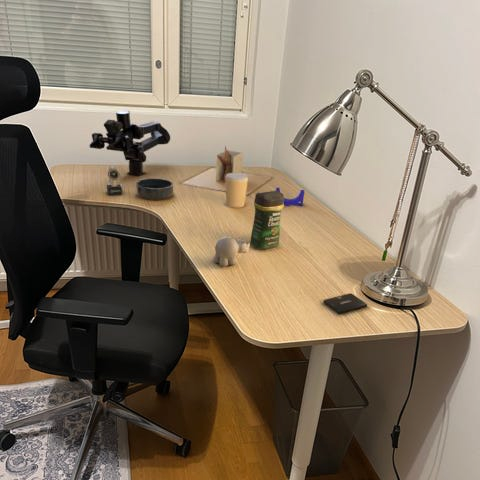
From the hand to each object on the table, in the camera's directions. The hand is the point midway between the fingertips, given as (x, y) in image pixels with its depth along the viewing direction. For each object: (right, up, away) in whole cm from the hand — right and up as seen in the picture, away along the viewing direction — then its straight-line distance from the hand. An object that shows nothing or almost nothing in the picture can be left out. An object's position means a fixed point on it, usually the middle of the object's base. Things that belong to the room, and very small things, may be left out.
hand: (98, 147), depth 195 cm
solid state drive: (+89, -69, -68) cm, 131 cm away
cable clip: (+81, -23, +4) cm, 84 cm away
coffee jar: (+68, -48, -36) cm, 91 cm away
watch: (+7, -19, +1) cm, 20 cm away
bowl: (+23, -19, +3) cm, 31 cm away
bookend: (+54, -5, +29) cm, 62 cm away
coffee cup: (+58, -25, -1) cm, 63 cm away
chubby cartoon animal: (+57, -55, -49) cm, 93 cm away
